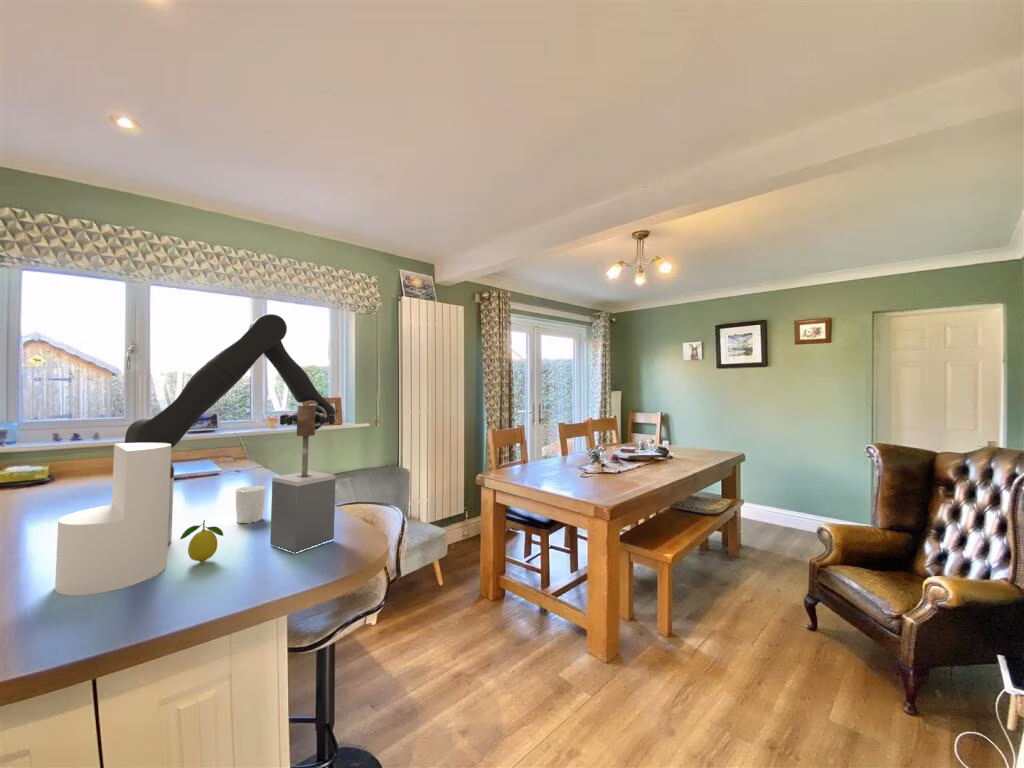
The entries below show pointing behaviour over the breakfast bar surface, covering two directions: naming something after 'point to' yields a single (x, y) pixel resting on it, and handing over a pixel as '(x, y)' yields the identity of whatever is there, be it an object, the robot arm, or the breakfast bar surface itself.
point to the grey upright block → (302, 510)
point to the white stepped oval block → (119, 527)
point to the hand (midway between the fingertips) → (305, 420)
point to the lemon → (202, 542)
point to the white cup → (250, 504)
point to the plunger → (305, 431)
